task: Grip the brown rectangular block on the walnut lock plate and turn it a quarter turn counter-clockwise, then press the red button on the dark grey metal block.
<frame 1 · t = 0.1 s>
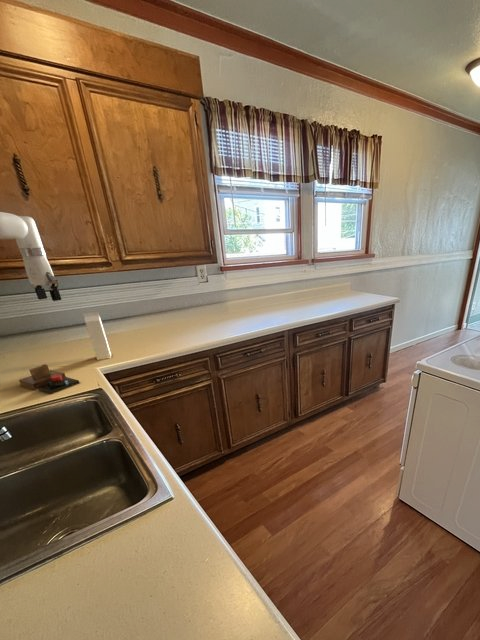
hand: (50, 299, 131), 31 cm above the worktop, tool pointing down, fingers open, 9 cm apart
brown rectangular block: (40, 371, 131), point 5 cm above the worktop, hinge at 0.0°
button block: (60, 387, 129), on the worktop
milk: (104, 358, 161), on the worktop
lock plate: (44, 383, 134), on the worktop
button: (56, 378, 128), point 4 cm above the worktop, slide at 0.1 cm
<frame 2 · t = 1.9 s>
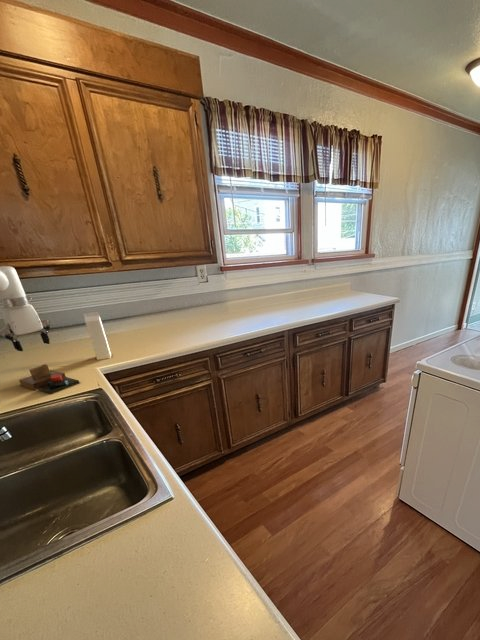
hand: (33, 346, 128), 15 cm above the worktop, tool pointing down, fingers open, 9 cm apart
nothing on the worktop moved.
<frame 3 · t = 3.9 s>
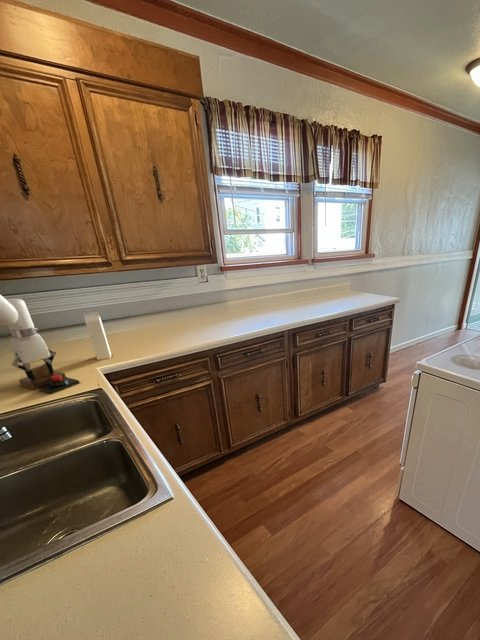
hand: (41, 375, 132), 3 cm above the worktop, tool pointing down, fingers closed on lock plate, 6 cm apart
nothing on the worktop moved.
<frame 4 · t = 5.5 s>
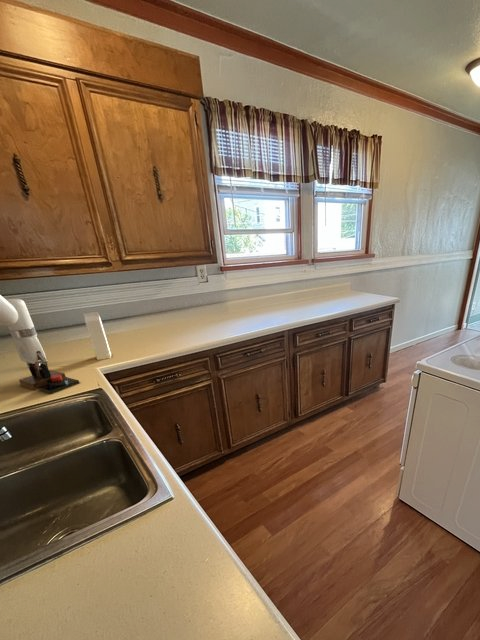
hand: (41, 376, 132), 3 cm above the worktop, tool pointing down, fingers closed on brown rectangular block, 6 cm apart
brown rectangular block: (40, 371, 131), point 5 cm above the worktop, hinge at 82.7°, touching gripper
everything else where it was.
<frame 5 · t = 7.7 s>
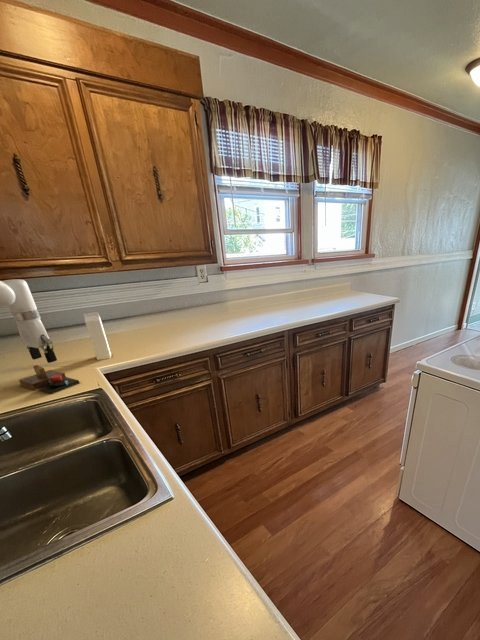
hand: (44, 360, 126), 11 cm above the worktop, tool pointing down, fingers open, 9 cm apart
brown rectangular block: (40, 371, 131), point 5 cm above the worktop, hinge at 82.7°
everything else where it was.
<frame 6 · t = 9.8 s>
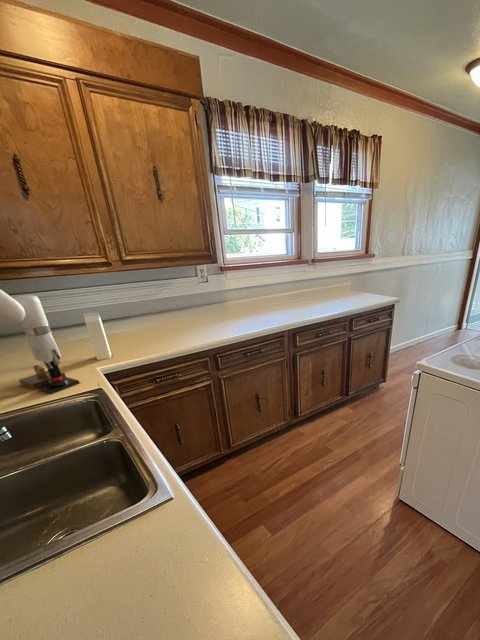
hand: (56, 376, 127), 5 cm above the worktop, tool pointing down, fingers closed
button: (56, 379, 128), point 4 cm above the worktop, slide at -0.2 cm, touching gripper
everything else where it was.
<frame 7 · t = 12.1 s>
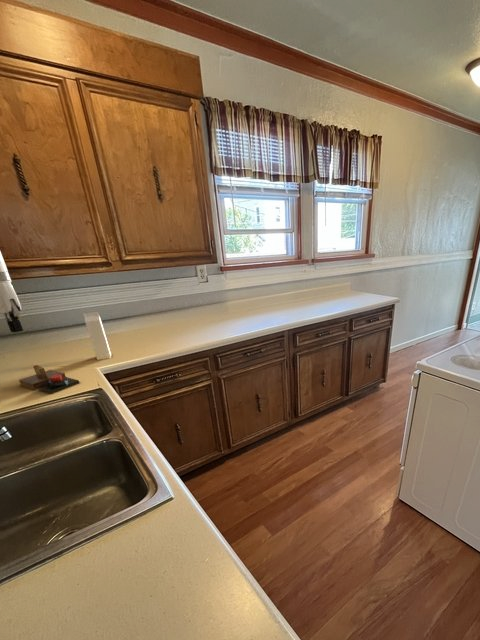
hand: (17, 331, 118), 23 cm above the worktop, tool pointing down, fingers closed
button: (56, 378, 128), point 4 cm above the worktop, slide at 0.1 cm
everything else where it was.
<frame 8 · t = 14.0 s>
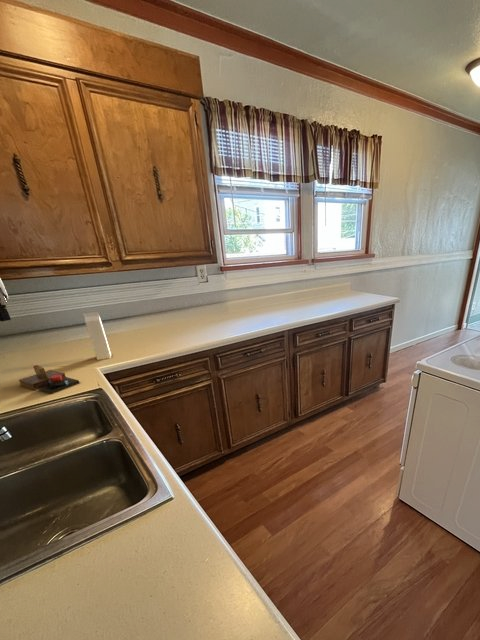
hand: (4, 320, 116), 27 cm above the worktop, tool pointing down, fingers closed
nothing on the worktop moved.
at the end: brown rectangular block at +83° (first picture: +0°); button pushed in 1.1 cm at the most during the clip, back to where it started at the end; button slide at 0.1 cm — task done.
